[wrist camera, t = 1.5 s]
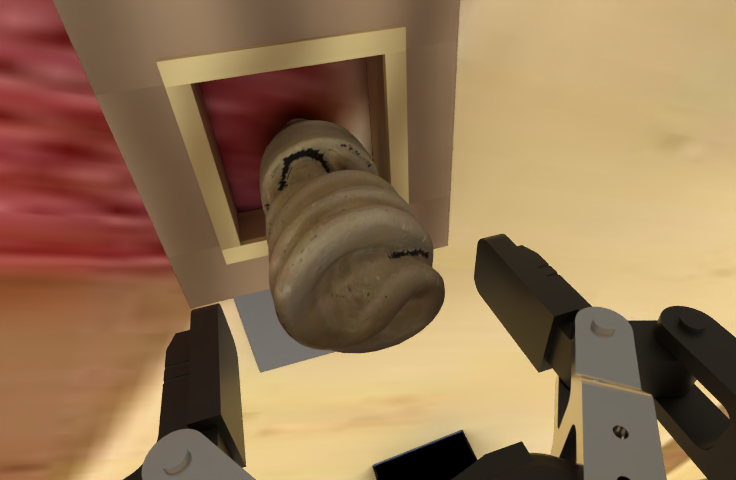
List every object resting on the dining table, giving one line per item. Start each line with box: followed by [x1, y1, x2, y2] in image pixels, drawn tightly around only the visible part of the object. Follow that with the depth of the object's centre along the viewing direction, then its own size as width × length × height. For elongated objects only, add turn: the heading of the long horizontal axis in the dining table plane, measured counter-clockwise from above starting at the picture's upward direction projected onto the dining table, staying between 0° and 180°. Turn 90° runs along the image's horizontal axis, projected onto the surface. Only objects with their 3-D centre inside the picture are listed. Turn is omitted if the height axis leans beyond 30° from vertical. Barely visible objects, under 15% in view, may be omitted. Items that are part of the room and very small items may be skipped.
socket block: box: [53, 0, 460, 308], centre depth 23 cm, size 16×16×3 cm
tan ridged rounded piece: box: [259, 118, 445, 353], centre depth 18 cm, size 6×6×15 cm
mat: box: [234, 289, 336, 373], centre depth 31 cm, size 10×10×1 cm
